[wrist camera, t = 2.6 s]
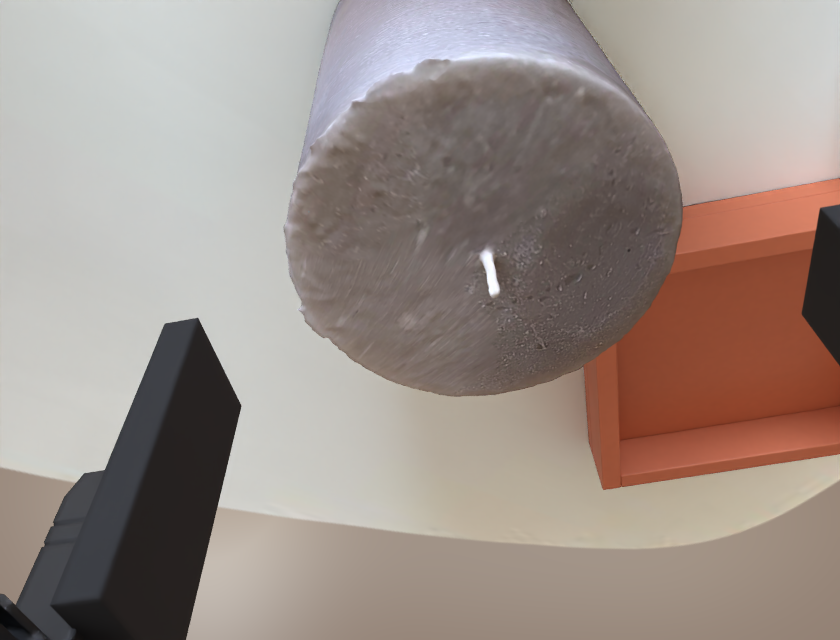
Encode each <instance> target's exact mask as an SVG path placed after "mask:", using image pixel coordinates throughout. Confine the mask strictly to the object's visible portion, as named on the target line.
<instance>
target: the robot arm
mask: <svg viewBox="0 0 840 640" xmlns="http://www.w3.org/2000/svg"><path fill="white" fill-rule="evenodd" d="M802 316H803V317H804V318H805V320H806V321H807V323H808V324H809V325H810V327H811V328H812V329H813V331H814V332H815V333H816V335H817V336H818V337H819V339H820V340H821V341H822V343H823V344H824V346H825V347H826V348H827V350H828V351H829V352H830V354H831V355H832V356H833V358H834V359H835V360H836V362H837V363H838V364H839V366H840V204H839V205H833V206H827V207H822V208H820V210H819V215H818V221H817V227H816V233H815V239H814V244H813V250H812V256H811V262H810V267H809V273H808V279H807V285H806V290H805V296H804V302H803V308H802ZM240 410H241V404H240V402H239V400H238V398H237V396H236V394H235V392H234V390H233V388H232V386H231V384H230V382H229V380H228V378H227V376H226V374H225V372H224V370H223V368H222V366H221V363H220V361H219V359H218V357H217V355H216V353H215V351H214V349H213V347H212V345H211V343H210V341H209V339H208V337H207V335H206V333H205V331H204V329H203V327H202V325H201V323H200V321H199V319H198V318H195V319H189V320H183V321H178V322H172V323H166V324H165V325H164V327H163V329H162V332H161V334H160V337H159V339H158V342H157V344H156V347H155V349H154V351H153V354H152V356H151V359H150V361H149V364H148V366H147V369H146V371H145V373H144V376H143V378H142V381H141V383H140V386H139V388H138V391H137V393H136V395H135V398H134V400H133V403H132V405H131V408H130V410H129V412H128V415H127V417H126V420H125V422H124V425H123V427H122V430H121V432H120V434H119V437H118V439H117V442H116V444H115V447H114V449H113V452H112V454H111V456H110V459H109V461H108V464H107V466H106V469H105V470H103V471H97V472H90V473H84V474H83V476H82V477H81V478H80V479H79V480H78V481H77V483H76V484H75V485H74V486H73V487H72V489H71V490H70V491H69V492H68V493H67V494H66V496H65V497H64V499H63V501H62V504H61V506H60V508H59V510H58V512H57V514H56V516H55V519H54V521H53V523H54V526H52V527H51V528H50V530H49V532H48V534H47V537H46V539H45V541H44V543H45V546H44V547H42V548H41V550H40V552H39V554H38V557H37V559H36V561H35V563H34V565H33V568H32V570H31V572H30V575H29V577H28V579H27V581H26V583H25V585H24V588H23V590H22V592H21V594H20V597H19V599H18V601H17V603H16V605H15V604H14V603H13V602H12V601H11V600H9V598H8V597H6V596H5V595H4V594H0V640H186V637H187V633H188V628H189V624H190V620H191V616H192V612H193V607H194V603H195V599H196V595H197V590H198V586H199V582H200V578H201V574H202V569H203V565H204V561H205V557H206V553H207V548H208V544H209V540H210V536H211V532H212V527H213V523H214V518H215V515H216V510H217V506H218V502H219V498H220V494H221V490H222V485H223V481H224V477H225V473H226V469H227V464H228V460H229V456H230V452H231V448H232V443H233V439H234V435H235V431H236V426H237V422H238V418H239V414H240Z"/></svg>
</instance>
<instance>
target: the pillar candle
mask: <svg viewBox="0 0 840 640" xmlns="http://www.w3.org/2000/svg"><path fill="white" fill-rule="evenodd" d="M682 220H683V204H682V194H681V190H680V184H679V178H678V174H677V170H676V167H675V165H674V162H673V160H672V157H671V155H670V152H669V150H668V148H667V145H666V143H665V141H664V140H663V138H662V136H661V134H660V133H659V131H658V130H657V128H656V127H655V125H654V124H653V122H652V121H651V120H650V118H649V117H648V116H647V115H646V113H645V111H644V110H643V108H642V107H641V105H640V104H639V102H638V101H637V99H636V98H635V96H634V95H633V94H632V93H631V91H630V90H629V88H628V87H627V85H626V84H625V83H624V82H623V80H622V79H621V77H620V76H619V74H618V73H617V72H616V70H615V69H614V67H613V66H612V65H611V63H610V62H609V60H608V59H607V57H606V55H605V54H604V53H603V51H602V50H601V49H600V47H599V46H598V44H597V43H596V41H595V40H594V39H593V37H592V36H591V34H590V33H589V31H588V30H587V29H586V27H585V26H584V24H583V23H582V21H581V20H580V18H579V17H578V16H577V14H576V13H575V12H574V10H573V8H572V7H571V5H570V4H569V3H568V1H567V0H340V1H339V3H338V5H337V8H336V10H335V12H334V15H333V18H332V22H331V25H330V29H329V33H328V37H327V41H326V45H325V49H324V53H323V57H322V61H321V65H320V69H319V74H318V79H317V83H316V89H315V94H314V99H313V104H312V108H311V113H310V118H309V122H308V127H307V132H306V136H305V141H304V146H303V150H302V155H301V159H300V162H299V167H298V172H297V176H296V178H295V180H294V182H293V192H292V195H291V199H290V205H289V211H288V217H287V221H286V224H285V225H284V233H285V239H286V253H287V256H288V263H289V273H290V277H291V279H292V282H293V284H294V286H295V289H296V291H297V293H298V295H299V297H300V299H301V301H302V305H301V308H299V309H298V310H299V311H301V312H302V313H303V315H304V318H305V322H306V323H307V324H308V325H309V326H310V327H311V328H312V330H313V331H315V332H316V333H317V334H318V335H320V336H321V337H323V338H326V337H327V338H329V339H330V340H331V341H332V343H333V344H334V345H336V346H337V347H338V349H339V350H342V351H343V352H345V353H346V354H347V356H348V357H349V358H350V359H352V360H353V361H355V362H357V363H359V364H361V365H362V366H363V367H365V368H366V369H368V370H370V371H372V372H374V373H376V374H378V375H380V376H382V377H384V378H385V379H387V380H390V381H393V382H395V383H398V384H401V385H404V386H408V387H411V388H414V389H418V390H423V391H427V392H432V393H436V394H439V395H446V396H479V395H496V394H500V393H506V392H510V391H515V390H520V389H525V388H528V387H532V386H535V385H537V384H541V383H545V382H549V381H552V380H554V379H557V378H559V377H560V376H562V375H564V374H567V373H570V372H573V371H576V370H579V369H580V368H581V367H582V366H583V365H584V364H586V363H588V362H590V361H592V360H593V359H595V358H596V357H598V356H599V355H600V354H601V353H602V352H604V351H606V350H607V349H608V348H610V347H611V346H612V345H614V344H615V343H617V342H619V341H620V340H621V339H622V338H623V336H624V335H625V334H627V333H628V332H629V331H630V330H631V329H632V328H633V326H634V325H635V324H636V323H637V322H638V321H639V320H640V318H641V317H642V316H643V315H644V314H645V312H646V311H647V310H648V309H649V308H650V307H651V304H652V302H653V300H654V299H655V298H656V296H657V294H658V292H659V290H660V288H661V286H662V285H663V283H664V281H665V279H666V277H667V276H668V274H669V273H670V272H671V268H672V265H673V263H674V259H675V254H676V249H677V243H678V240H679V237H680V233H681V228H682Z"/></svg>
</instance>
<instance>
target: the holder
mask: <svg viewBox="0 0 840 640" xmlns="http://www.w3.org/2000/svg"><path fill="white" fill-rule="evenodd" d="M839 204H840V178H838V179H832V180H827V181H822V182H816V183H811V184H805V185H800V186H795V187H789V188H784V189H778V190H773V191H767V192H762V193H757V194H751V195H746V196H740V197H735V198H729V199H724V200H719V201H713V202H708V203H702V204H697V205H691V206H686V207H683V220H682V228H681V233H680V237H679V240H678V243H677V249H676V254H675V259H674V263H673V265H672V268H671V272H670V273H669V274H668V276H667V277H666V279H665V281H664V283H663V285H662V286H661V288H660V290H659V292H658V294H657V296H656V298H655V299H654V300H653V302H652V304H651V307H650V308H649V309H648V310H647V311H646V312H645V314H644V315H643V316H642V317H641V318H640V320H639V321H638V322H637V323H636V324H635V325H634V326H633V328H632V329H631V330H630V331H629V332H628V333H627V334H625V335H624V336H623V338H622V339H621V340H620V341H619V342H617V343H615V344H614V345H612V346H611V347H610V348H608V349H607V350H606V351H604V352H602V353H601V354H600V355H599V356H598V357H596V358H595V359H593V360H592V361H590V362H588V363H586V364H584V378H585V392H586V407H587V421H588V436H589V444H590V448H591V451H592V454H593V458H594V461H595V465H596V468H597V471H598V475H599V478H600V481H601V485H602V488H603V490H606V489H613V488H619V487H621V486H622V487H625V486H632V485H638V484H645V483H652V482H658V481H665V480H672V479H678V478H685V477H692V476H698V475H705V474H711V473H718V472H725V471H731V470H738V469H745V468H751V467H758V466H764V465H771V464H778V463H784V462H791V461H798V460H804V459H811V458H818V457H824V456H831V455H837V454H840V366H839V364H838V363H837V362H836V360H835V359H834V358H833V356H832V355H831V354H830V352H829V351H828V350H827V348H826V347H825V346H824V344H823V343H822V341H821V340H820V339H819V337H818V336H817V335H816V333H815V332H814V331H813V329H812V328H811V327H810V325H809V324H808V323H807V321H806V320H805V318H804V317H803V316H802V308H803V302H804V296H805V290H806V285H807V279H808V273H809V267H810V262H811V256H812V250H813V244H814V239H815V233H816V227H817V221H818V215H819V210H820V208H822V207H827V206H833V205H839Z"/></svg>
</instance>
